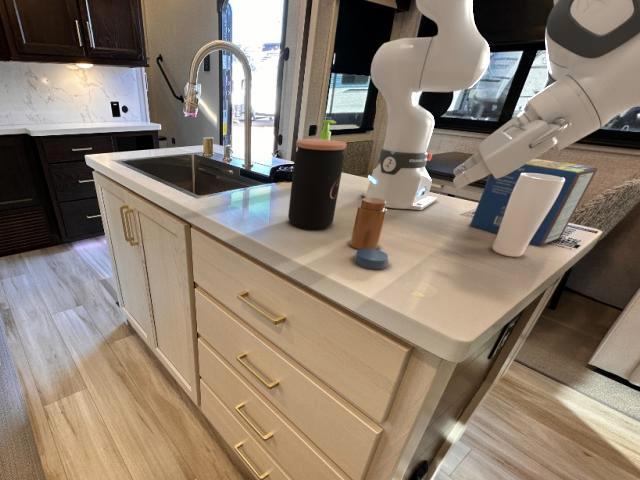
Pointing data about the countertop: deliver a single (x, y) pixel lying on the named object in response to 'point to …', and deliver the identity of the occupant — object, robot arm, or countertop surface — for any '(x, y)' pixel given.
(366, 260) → the jam lid
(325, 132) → the soap dispenser
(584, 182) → the protein box
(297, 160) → the coffee jar
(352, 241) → the jam jar
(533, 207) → the drinking glass
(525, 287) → the countertop surface
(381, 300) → the countertop surface
